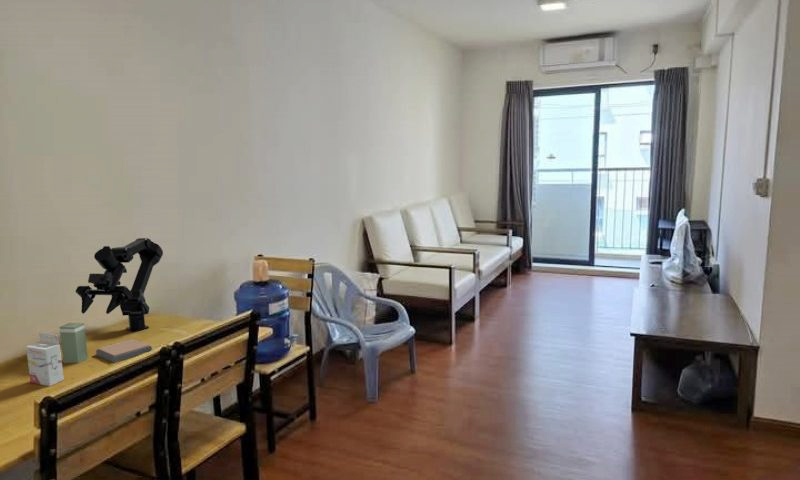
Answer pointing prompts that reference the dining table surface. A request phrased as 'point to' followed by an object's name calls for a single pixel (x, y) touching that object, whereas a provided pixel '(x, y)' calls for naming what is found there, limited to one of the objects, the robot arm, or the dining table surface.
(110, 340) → the dining table surface
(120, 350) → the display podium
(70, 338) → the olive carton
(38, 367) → the ink cartridge box
